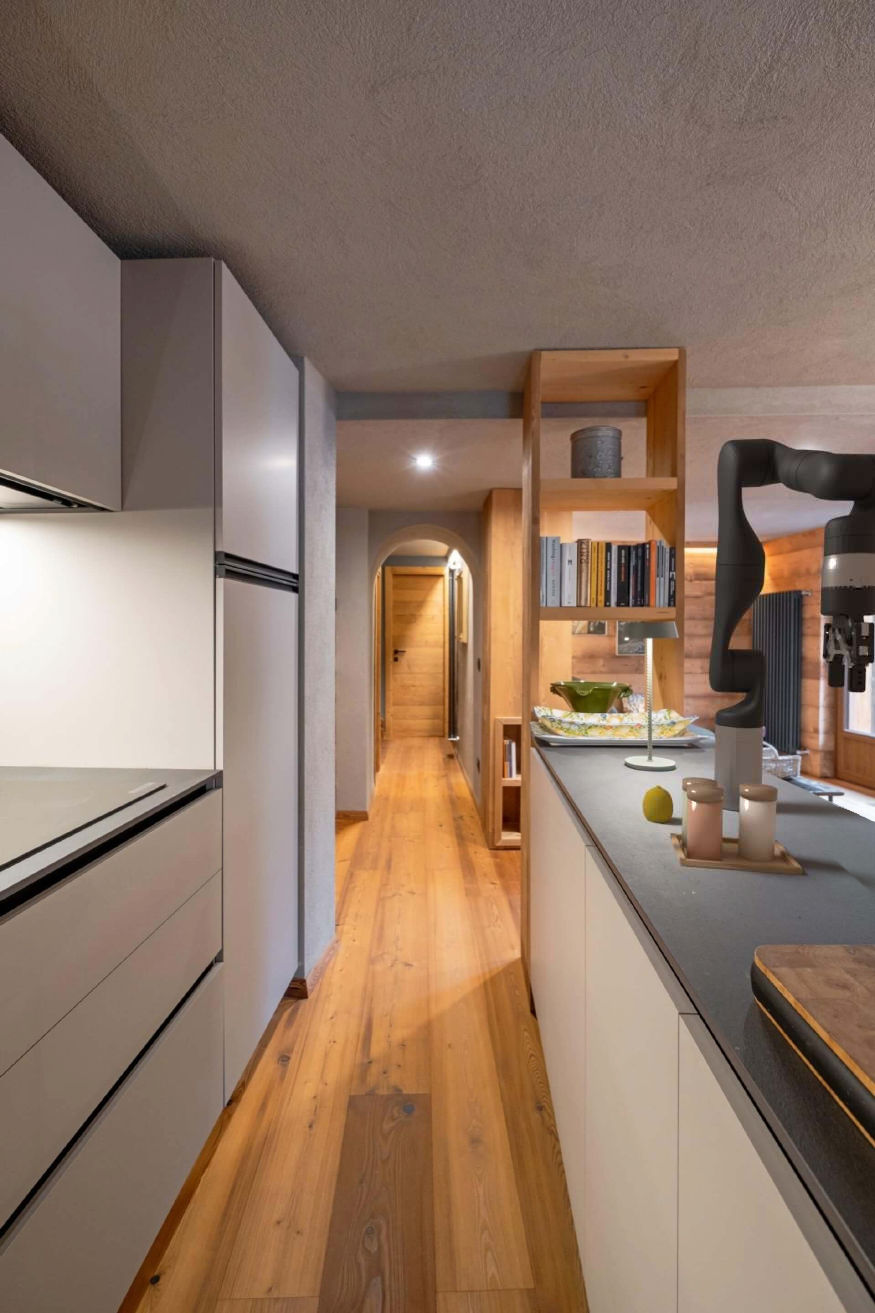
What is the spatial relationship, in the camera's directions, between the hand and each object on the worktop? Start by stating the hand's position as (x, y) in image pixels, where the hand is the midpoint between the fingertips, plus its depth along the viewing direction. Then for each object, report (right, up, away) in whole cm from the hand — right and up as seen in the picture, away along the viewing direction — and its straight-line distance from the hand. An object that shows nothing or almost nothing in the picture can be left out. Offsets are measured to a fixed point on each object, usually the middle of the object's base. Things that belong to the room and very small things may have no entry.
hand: (845, 689), depth 105 cm
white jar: (-13, -26, +2) cm, 30 cm away
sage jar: (-20, -26, +6) cm, 34 cm away
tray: (-17, -28, +3) cm, 33 cm away
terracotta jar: (-22, -27, +1) cm, 34 cm away
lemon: (-22, -27, +22) cm, 42 cm away
